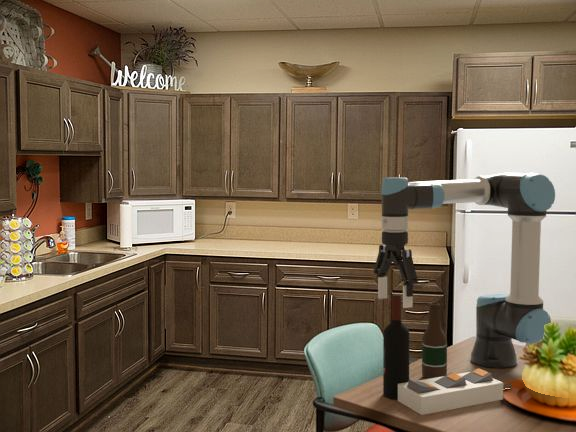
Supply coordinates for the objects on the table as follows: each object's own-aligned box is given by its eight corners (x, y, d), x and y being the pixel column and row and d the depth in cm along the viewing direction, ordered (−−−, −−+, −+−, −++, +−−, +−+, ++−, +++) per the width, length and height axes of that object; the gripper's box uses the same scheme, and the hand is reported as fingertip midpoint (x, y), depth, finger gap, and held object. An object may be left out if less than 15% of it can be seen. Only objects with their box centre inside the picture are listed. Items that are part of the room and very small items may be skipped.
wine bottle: (392, 401, 194) (392, 299, 192) (378, 393, 201) (378, 294, 199) (414, 397, 197) (414, 296, 195) (399, 389, 204) (400, 291, 202)
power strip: (496, 383, 209) (496, 367, 209) (524, 395, 198) (524, 378, 198) (397, 400, 195) (397, 383, 194) (421, 415, 184) (421, 397, 183)
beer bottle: (447, 381, 211) (447, 306, 209) (421, 380, 212) (422, 305, 210) (446, 373, 218) (447, 301, 216) (421, 372, 220) (422, 300, 218)
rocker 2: (453, 378, 199) (451, 371, 198) (466, 385, 193) (464, 377, 193) (436, 388, 196) (434, 380, 196) (449, 394, 191) (447, 387, 190)
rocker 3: (479, 374, 202) (477, 367, 202) (492, 380, 197) (491, 373, 196) (463, 383, 200) (461, 376, 200) (476, 389, 195) (474, 382, 194)
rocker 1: (424, 390, 195) (426, 382, 195) (437, 396, 189) (439, 388, 189) (407, 386, 192) (409, 378, 192) (419, 393, 187) (421, 384, 187)
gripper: (362, 227, 205) (362, 296, 207) (407, 235, 182) (407, 312, 184) (383, 226, 208) (383, 293, 210) (430, 234, 185) (430, 310, 187)
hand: (394, 302), depth 197 cm, fingers open, 13 cm apart
